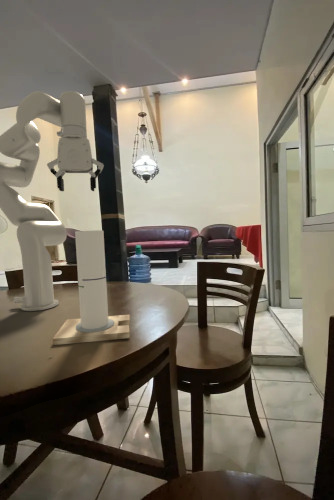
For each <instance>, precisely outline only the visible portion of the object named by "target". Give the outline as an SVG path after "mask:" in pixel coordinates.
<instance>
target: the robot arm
mask: <svg viewBox="0 0 334 500" xmlns="http://www.w3.org/2000/svg"><path fill="white" fill-rule="evenodd" d="M36 119H40V120H41V121H45V122H47V123H50V124H53V125H55V126H57V127H59V128H60V130H59V131H56V136H57V137H59V138H58V144H57V157H56V158H55V159H52V160H51V161H49V162H48V163H47V164H46V165H47V167H48V169H49V171H50V173H51V174H52V175H53V176H54V177H56V187H57V189H58V191H60V192H65V183H64V179H63V178H64V177H63V176H64V175H65V174H89V175H90V178H89V181H90V182H89V183H90V184H89V185H90V191H91V192H95V189H97V178H98V177H99V176H100V175H101V174H102V171H103V169H104V166H105V165H104V163H103V162H100V161H98V160H96V159H95V158H93V155H92V147H91V144H90V139H88V135H87V133H88V132H87V113H86V99H85V97H84V96H83V94H81V93H79V92H78V91H74V90H67V91H64V92H61V94H60V96H59V99H57V98H55V97H53V96H51V95H50V94H48V93H45V92H43V91H39V90H38V91H37V90H36V91H33V92H31V93H30V94H28V95H26V97H24V98H23V99H22V100H21V101H20V102H19V103H18V106H17V108H16V113H15V120H16V123H15V124H13V125H12V126H10V127H9V128H8V129H7V130H5V131H4V132H3V133H2V134H0V153H1V154H2V155H3V156H5V157H8V158H12V159H16V160H20V162H19V165H17V164H12V163H7V162H2V161H0V210H1V211H2V213H3V214H4V215H5V216H6V218H7V219H8V220H9V222H10V223H11V224H12V225H13V226H16V227H17V229H16V238H17V242H18V246H19V248H20V249H19V250H20V254H21V263H22V273H23V274H22V275H23V287H24V288H23V289H24V295H23V296H14V297H13V303H15V304H20V303H21V304H22V305H21V306H20V309H21V310H22V311H25V312H37V311H44V310H49V309H51V308H54V307H57V306H58V305H59V303H60V302H59V300H58V299H56V298H55V296H54V295H55V291H54V280H53V267H52V258H51V254H50V252H49V251H48V249H47V248H46V247H54V246H59V245H62V244H63V243H64V242H65V241H66V240H67V236H68V235H67V233H68V232H67V230H66V227H65V225H64V224H63V223H62V221H61V219H59V218H58V216H57V215H56V214H55V212H53V210H52V209H51V208H50V207H49V206H48V205H46V204H44V203H40V202H31V201H28V200H27V201H26V200H25V199H24V198H23V197H22V196H21V194H20V193H19V192H18V191H17V190H15V189H14V188H13V187H15V188H26V187H28V186H30V184H31V182H32V180H33V177H34V173H35V171H36V168H37V165H38V161H39V159H40V154H41V153H40V147H39V145H38V144H39V143H40V141H41V132H40V130H39V128H38V127H37V126H36V124H35V123H34V122H33V121H34V120H36ZM94 165H95V166H96V167H97V169H96V170H95V171H94V170H93V169H94ZM55 166H57V168H58V170H55Z"/></svg>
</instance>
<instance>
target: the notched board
mask: <svg viewBox="0 0 334 500" xmlns="http://www.w3.org/2000/svg"><path fill="white" fill-rule="evenodd" d="M130 323H131V315H130V314H119V315H108V324H107V325H106V326H103V327H100V328H95V329H85V328H82V327H81V319H80V318H70V319H69V318H67V319H66V320H65V321H64V323H63V324H62V326H61V327H60V328H59V330H58V331H57V333H55V335H54V336H53V338H52V345H53V346H57V345H58V346H59V345H68V344H69V345H71V344H78V343H79V344H81V343H90V342H91V343H92V342H101V341H113V340H122V339H123V340H125V339H130V330H131V329H130Z"/></svg>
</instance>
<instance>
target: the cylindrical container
mask: <svg viewBox="0 0 334 500" xmlns="http://www.w3.org/2000/svg"><path fill="white" fill-rule="evenodd" d="M104 233H105V232H104V230H99V229H98V230H76V231H74V235H75V236H74V237H75V249H76V250H75V251H76V254H75V255H76V266H77V267H76V268H77V285H78V298H79V300H78V301H79V314H80V315H79V317H80V318H79V319H81V327H82V328H85V329H95V328H100V327H103V326H106V325H107V324H108V316H109V307H108V290H107V288H108V286H107V274H106V273H107V271H106V269H107V268H106V253H105V238H104V237H105V236H104Z"/></svg>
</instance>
